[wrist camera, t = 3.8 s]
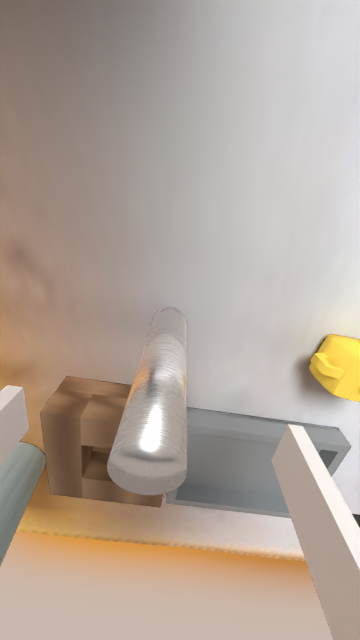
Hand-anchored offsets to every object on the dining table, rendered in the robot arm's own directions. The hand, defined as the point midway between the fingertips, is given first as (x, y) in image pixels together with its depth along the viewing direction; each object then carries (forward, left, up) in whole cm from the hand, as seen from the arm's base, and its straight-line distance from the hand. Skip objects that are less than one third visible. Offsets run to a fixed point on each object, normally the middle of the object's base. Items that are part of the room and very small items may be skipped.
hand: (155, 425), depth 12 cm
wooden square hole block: (-4, -14, -11) cm, 18 cm away
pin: (0, 0, -11) cm, 11 cm away
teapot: (+17, 0, -12) cm, 21 cm away
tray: (+12, -17, -11) cm, 23 cm away
